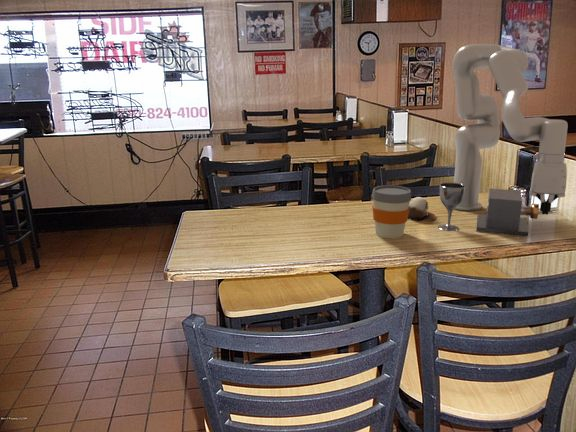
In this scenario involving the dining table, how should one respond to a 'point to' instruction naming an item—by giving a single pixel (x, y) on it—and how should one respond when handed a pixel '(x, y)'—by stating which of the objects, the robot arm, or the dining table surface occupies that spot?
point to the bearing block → (503, 214)
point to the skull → (420, 210)
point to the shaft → (528, 210)
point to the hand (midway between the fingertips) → (544, 213)
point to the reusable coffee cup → (390, 210)
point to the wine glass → (451, 201)
